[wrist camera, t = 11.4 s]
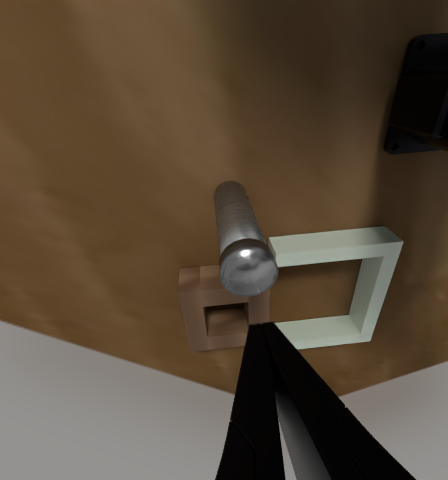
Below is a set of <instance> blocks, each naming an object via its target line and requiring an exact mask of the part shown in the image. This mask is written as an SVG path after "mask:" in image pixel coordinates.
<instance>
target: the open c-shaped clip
mask: <svg viewBox="0 0 448 480" xmlns="http://www.w3.org/2000/svg"><path fill="white" fill-rule="evenodd" d="M403 242H404V241H403V240H401V239H400V238H399V237H398V236H397V235H395V234H394V233H393V232H392V231H390V230H389V229H388V228H387V227H386V226H379V227H369V228H359V229H349V230H339V231H329V232H319V233H309V234H299V235H289V236H278V237H269V248H270V249H271V251H272V253H273V256H274V258H275V261H276V263H277V266H278V267H284V266H293V265H303V264H313V263H323V262H332V261H342V260H352V259H362V258H363V259H362V263H361V267H360V271H359V275H358V279H357V283H356V287H355V291H354V295H353V299H352V303H351V307H350V311H349V315H343V316H334V317H325V318H316V319H307V320H298V321H288V322H279V323H275V324H276V326H277V327H278V328H279V329H280V330H281V331H282V333H283V334H284V335H285V336H286V337H287V338H288V340H289V341H290V342H291V343H292V344H293V345H294V347H295V348H296V349H305V348H314V347H323V346H332V345H341V344H349V343H358V342H367V341H370V340H371V337H372V334H373V331H374V328H375V325H376V322H377V320H378V317H379V314H380V311H381V308H382V305H383V302H384V299H385V296H386V293H387V290H388V287H389V284H390V281H391V278H392V275H393V272H394V269H395V266H396V263H397V260H398V257H399V254H400V251H401V248H402V245H403Z"/></svg>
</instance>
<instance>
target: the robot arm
mask: <svg viewBox="0 0 448 480" xmlns="http://www.w3.org/2000/svg"><path fill="white" fill-rule="evenodd" d="M418 42H420V48H419V49H418V50H416V46H417V44H418ZM393 143H395V145H394V147H393V148H392V149H391V146H392V144H393ZM384 150H385V152H387V153H389V154H400V153H411V152H422V151H434V150H444V151H448V33H440V34H427V35H419V36H416V37H414V38H413V39H412V40H411V41H410V42H409V44H408V47H407V51H406V55H405V59H404V64H403V68H402V72H401V76H400V79H399V80H398V84H397V88H396V92H395V97H394V101H393V105H392V109H391V114H390V118H389V127H388V131H387V135H386V139H385V143H384ZM278 418H279V422H280V425H281V428H282V432H283V435H284V439H285V442H286V445H287V449H288V452H289V455H290V459H291V462H292V465H293V469H294V471H295V476H296V479H297V480H416V479H415V478H414V477H413V476H412V475H411V474H410V473H409V472H408V471H407V470H406V469H405V468H404V467H403V466H402V465H401V464H400V463H399V462H398V461H397V460H396V459H395V458H393V456H391V455H390V453H388V451H387V450H386V449H385V448H383V447H382V445H380V443H379V442H378V441H377V440H376V439H375V438H373V436H372V435H371V434H370V433H369V432H368V431H367V430H366V428H365V427H364V426H363V425H362V424H361V423H360V422H359V421H358V420H357V418H356V417H355V416H354V415H353V414H352V413H351V411H350V410H349V409H348V408H345V405H344V403H343V402H342V401H341V400H340V399H339V398H338V396H337V395H336V394H335V393H334V392H333V391H332V389H331V388H330V387H329V386H328V385H327V384H326V383H325V381H324V380H323V379H322V378H321V377H320V376H319V374H318V373H317V372H316V371H315V370H314V369H313V367H312V366H311V365H310V364H309V363H308V362H307V360H306V359H305V358H304V357H303V356H302V355H301V353H300V352H299V351H298V350H297V349H296V348H295V347H294V345H293V344H292V343H291V342H290V341H289V340H288V338H287V337H286V336H285V335H284V334H283V333H282V331H281V330H280V329H279V328H278V327H277V326H276V324H275V323H274V322H263V323H262V324H260V323H252V324H250V325H249V327H248V332H247V337H246V342H245V347H244V352H243V357H242V362H241V367H240V372H239V377H238V382H237V387H236V392H235V397H234V402H233V407H232V412H231V418H230V422H229V427H228V432H227V437H226V441H225V445H224V450H223V454H222V458H221V461H220V465H219V468H218V471H217V475H216V478H215V480H285V472H284V464H283V455H282V447H281V440H280V430H279V422H278Z"/></svg>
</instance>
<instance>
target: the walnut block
mask: <svg viewBox="0 0 448 480" xmlns="http://www.w3.org/2000/svg"><path fill="white" fill-rule="evenodd" d="M178 297H179V302H180V307H181V311H182V316H183V321H184V326H185V330H186V335H187V340H188V344H189V349H190V352H194V351H203V350H212V349H221V348H230V347H239V346H245V342H246V337H247V332H248V327H249V325H250V324H252V323H260V324H262V323H263V322H269V311H270V288H269V289H268V290H267V291H265V292H263V293H261V294H258V295H255V296H248V297H244V296H238V295H235V294H232V293H230V292H229V291H228V290H226V289H225V287H224V286H223V284H222V282H221V278H220V268H219V265H209V266H199V267H189V268H180V274H179V284H178ZM235 303H244V307H239V308H229V309H220V310H211V311H206V307H207V306H216V305H225V304H235Z"/></svg>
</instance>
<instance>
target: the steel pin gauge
mask: <svg viewBox="0 0 448 480" xmlns="http://www.w3.org/2000/svg"><path fill="white" fill-rule="evenodd" d="M214 203H215V212H216V221H217V230H218V239H219V249H220V259H219V268H220V278H221V282H222V284H223V286H224V287H225V289H226V290H228V291H229V292H230V293H232V294H235V295H238V296H244V297H248V296H255V295H258V294H261V293H263V292H265V291H267V290H268V289H269V288H270V287H271V286H272V285H273V284H274V283H275V281H276V279H277V277H278V266H277V263H276V261H275V258H274V256H273V253H272V251H271V249H270V248H269V246H268V245H267V244H266V241H265V239H264V236H263V234H262V231H261V229H260V226H259V223H258V221H257V218H256V216H255V213H254V211H253V208H252V206H251V203H250V200H249V198H248V195H247V193H246V190H245V188H244V187H243V186H242V185H241V184H240V183H238V182H234V181H227V182H224V183H222V184H221V185H219V186H218V187H217V189H216V191H215V193H214Z"/></svg>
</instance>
